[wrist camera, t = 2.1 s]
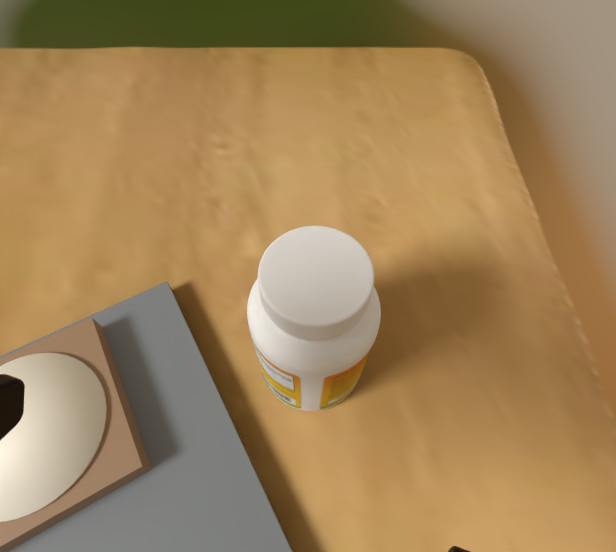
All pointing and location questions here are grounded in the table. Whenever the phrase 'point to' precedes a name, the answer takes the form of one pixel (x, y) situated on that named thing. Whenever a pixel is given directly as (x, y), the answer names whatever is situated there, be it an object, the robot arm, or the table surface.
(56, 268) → the table surface
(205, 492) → the grey board
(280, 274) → the supplement bottle
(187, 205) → the table surface
